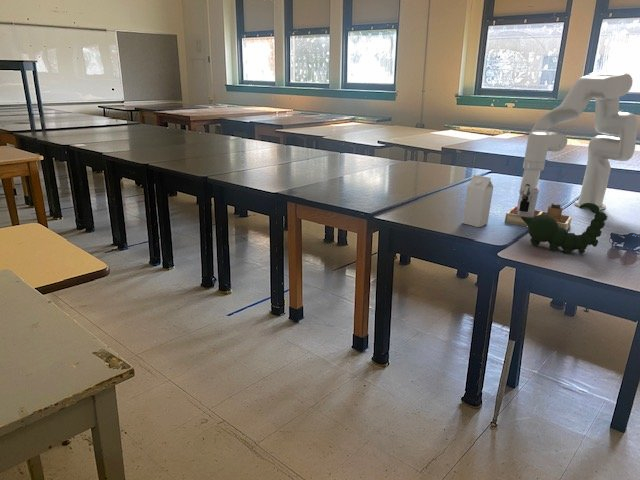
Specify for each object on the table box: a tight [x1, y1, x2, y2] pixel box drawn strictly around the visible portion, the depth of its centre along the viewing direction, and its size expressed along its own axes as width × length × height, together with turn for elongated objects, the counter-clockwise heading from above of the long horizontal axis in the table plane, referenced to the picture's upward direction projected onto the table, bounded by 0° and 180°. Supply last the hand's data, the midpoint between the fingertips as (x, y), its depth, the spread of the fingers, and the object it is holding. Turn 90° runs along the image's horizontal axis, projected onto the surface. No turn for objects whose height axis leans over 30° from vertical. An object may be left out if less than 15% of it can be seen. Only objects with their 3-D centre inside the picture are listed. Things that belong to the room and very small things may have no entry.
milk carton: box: [461, 173, 494, 228], centre depth 185 cm, size 7×7×19 cm
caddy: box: [504, 202, 573, 231], centre depth 189 cm, size 13×22×9 cm, turn 56°
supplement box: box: [516, 187, 540, 217], centre depth 191 cm, size 6×6×12 cm
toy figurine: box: [521, 203, 608, 255], centre depth 162 cm, size 9×19×25 cm
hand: (525, 208), depth 192 cm, fingers closed on supplement box, 7 cm apart
